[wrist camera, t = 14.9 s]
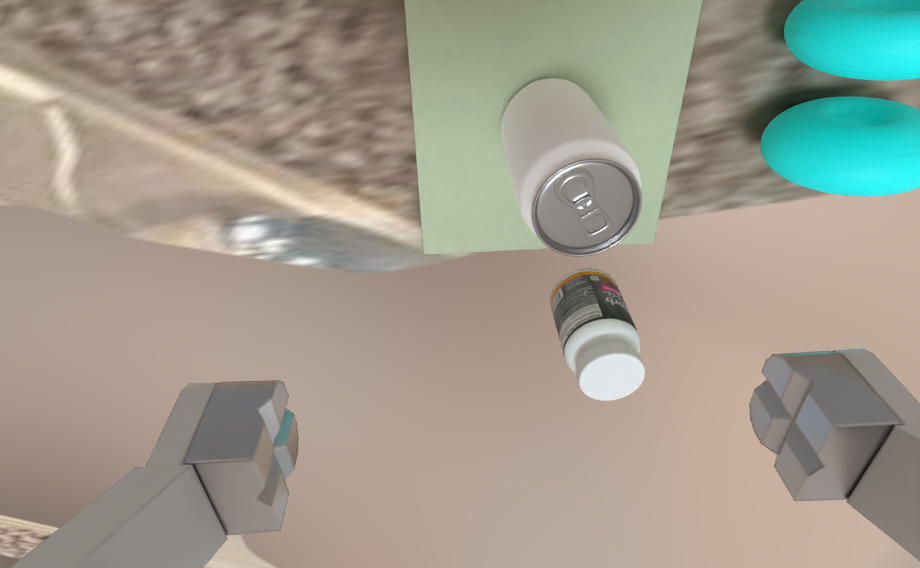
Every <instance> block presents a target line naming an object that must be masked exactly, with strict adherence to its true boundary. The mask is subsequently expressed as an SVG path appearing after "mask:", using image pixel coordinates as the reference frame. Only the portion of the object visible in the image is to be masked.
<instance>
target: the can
mask: <svg viewBox="0 0 920 568" xmlns="http://www.w3.org/2000/svg"><path fill="white" fill-rule="evenodd" d="M501 139H502V144H503V148H504V152H505V156H506V160H507V164H508V167H509V171H510V175H511V179H512V182H513V186H514V190H515V193H516V197H517V200H518V204H519V207H520V210H521V213H522V216H523V218H524V220H525V222H526V224H527V226H528V227H529V229H530V230H531V231H532V232H533V233H534V234H535V235H536V236H537V237H538V238H539V239H540V240H541V241H542V243H543V244H544V245H546V246H547V247H548V248H550V249H551V250H553V251H555V252H557V253H560V254H563V255H567V256H574V257H583V256H591V255H595V254H598V253H601V252H604V251H606V250H608V249H610V248H612V247H613V246H615V245H617V244H618V243H619V242H621V241H622V240H623V239H624V238H625V237H626V236H627V235H628V234H629V233H630V232H631V230H632V229H633V227H634V226H635V224H636V222H637V220H638V218H639V215H640V212H641V208H642V193H641V180H640V175H639V171H638V168H637V166H636V164H635V162H634V160H633V158H632V157H631V155H630V153H629V152H628V150H627V149H626V148H625V146H624V145H623V143H622V142H621V140H620V139H619V137H618V136H617V134H616V133H615V132H614V130H613V129H612V127H611V126H610V124H609V123H608V122H607V120H606V119H605V117H604V116H603V115H602V113H601V112H600V110H599V109H598V108H597V106H596V105H595V103H594V102H593V101H592V99H591V98H590V97H589V95H588V94H587V93H586V92H585V91H584V90H583V89H582V88H581V87H579V86H578V85H576V84H575V83H573V82H570V81H568V80H564V79H558V78H549V79H542V80H538V81H535V82H533V83H531V84H529V85H527V86H526V87H524V88H523V89H522V90H520V91H519V92H518V93H517V94H516V95H515V96H514V97H513V98H512V99H511V101H510V102H509V104H508V105H507V107H506V109H505V111H504V114H503V117H502V121H501Z"/></svg>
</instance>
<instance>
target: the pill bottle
mask: <svg viewBox="0 0 920 568" xmlns="http://www.w3.org/2000/svg"><path fill="white" fill-rule="evenodd" d="M550 302H551V308H552V313H553V316H554V320H555V324H556V327H557V331H558V334H559V338H560V342H561V346H562V350H563V354H564V357H565V360H566V362H567V364H568V366H569V367H570V369H572V371H573V372H575V373H576V377H577V379H578V383H579V386H580V388H581V390H582V391H583V392H584V393H585V394H586V395H588V396H589V397H591V398H593V399H597V400H605V401H607V400H615V399H619V398H623V397H625V396H627V395H629V394H630V393H632V392H634V391H635V390H636V389H637V388H638V387H639V386H640V385H641V383H642V382H643V379H644V376H645V368H644V365H643V362H642V360H641V357H640V355H639V351H640V338H639V335H638V332H637V329H636V327H635V325H634V323H633V321H632V318H631V316H630V313H629V311H628V309H627V307H626V305H625V302H624V300H623V298H622V296H621V293H620V291H619V289H618V286H617V284H616V283H615V281H614V280H613V278H612V277H611V276H609V275H608V274H607V273H605V272H603V271H600V270H596V269H581V270H577V271H574V272H571V273H569V274H567V275H565V276H564V277H563V278H562V279H561V280H560V281H558V282H557V284H556V285H555V287H554V289H553V291H552V294H551V300H550Z"/></svg>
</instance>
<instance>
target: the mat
mask: <svg viewBox="0 0 920 568" xmlns="http://www.w3.org/2000/svg"><path fill="white" fill-rule="evenodd" d="M702 2H703V0H404V6H405V19H406V32H407V45H408V58H409V71H410V84H411V97H412V110H413V123H414V136H415V149H416V162H417V175H418V188H419V201H420V214H421V227H422V240H423V253H424V254H443V253H464V252H485V251H506V250H527V249H547V248H548V247H547V246H546V245H544V244H543V243H542V241H541V240H540V239H539V238H538V237H537V236H536V235H535V234H534V233H533V232H532V231H531V230H530V229H529V227H528V226H527V224H526V222H525V220H524V218H523V216H522V213H521V210H520V207H519V204H518V200H517V197H516V193H515V190H514V186H513V182H512V179H511V175H510V171H509V167H508V164H507V160H506V156H505V152H504V148H503V144H502V139H501V121H502V117H503V114H504V111H505V109H506V107H507V105H508V104H509V102H510V101H511V99H512V98H513V97H514V96H515V95H516V94H517V93H518V92H519V91H520V90H522V89H523V88H524V87H526V86H527V85H529V84H531V83H533V82H535V81H538V80H542V79H549V78H558V79H564V80H568V81H570V82H573V83H575V84H576V85H578V86H579V87H581V88H582V89H583V90H584V91H585V92H586V93H587V94H588V95H589V97H590V98H591V99H592V101H593V102H594V103H595V105H596V106H597V108H598V109H599V110H600V112H601V113H602V115H603V116H604V117H605V119H606V120H607V122H608V123H609V124H610V126H611V127H612V129H613V130H614V132H615V133H616V134H617V136H618V137H619V139H620V140H621V142H622V143H623V145H624V146H625V148H626V149H627V150H628V152H629V153H630V155H631V157H632V158H633V160H634V162H635V164H636V166H637V168H638V171H639V175H640V180H641V193H642V208H641V212H640V215H639V218H638V220H637V222H636V224H635V226H634V227H633V229H632V230H631V232H630V233H629V234H628V235H627V236H626V237H625V238H624V239H623V240H622V241H621V242H619V243H618V244H617V245H629V244H630V245H631V244H651V243H654V238H655V233H656V228H657V223H658V218H659V213H660V209H661V204H662V199H663V194H664V189H665V184H666V179H667V174H668V169H669V164H670V159H671V154H672V149H673V144H674V140H675V135H676V130H677V125H678V120H679V115H680V110H681V105H682V100H683V95H684V90H685V85H686V80H687V76H688V71H689V66H690V61H691V56H692V51H693V46H694V41H695V36H696V31H697V26H698V21H699V16H700V12H701V7H702Z"/></svg>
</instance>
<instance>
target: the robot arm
mask: <svg viewBox="0 0 920 568" xmlns="http://www.w3.org/2000/svg"><path fill="white" fill-rule="evenodd" d="M762 373H763V374H764V376H765V378H766V379H767V380H766V381H765V382H763V383H762V384H761V385H760V386H758V387H757V388H756V389H755V390H754V392H753V395H752V398H751V401H750V420H751V423H752V426H753V429H754V432H755V433H756V435H757V437H758V439H759V441H760V443H761V444H762V445H764V446H765V447H767V448H768V449H770V450H771V451H772V452H774V453H775V454H777V456H776V460H775V464H774V467H775V469H776V470H777V472H778V473H779V475H780V477H781V479H782V480H783V482H784V484H785V486H786V487H787V489H788V491H789V492H790V494H791V496H792V497H793V499H794V501H811V500H812V501H813V500H843V499H848V500H847V503H848V504H850V505H851V506H852V507H853V508H854V509H856V510H857V511H858V512H859V513H861V514H862V515H863V516H864V517H866V518H867V519H868V520H869V521H871V522H872V523H873V524H875V525H876V526H877V527H878V528H879V529H881V530H882V531H883V532H884V533H886V534H887V535H888V536H889V537H890V538H892V539H893V540H894V541H896V542H897V543H898V544H899V545H901V546H902V547H903V548H904V549H905V550H907V551H908V552H909V553H911V554H912V555H913V556H914V557H915V558H917V559H918V560H919V561H920V403H919V402H918V401H917V400H916V399H915V398H914V397H913V396H912V394H911V393H910V392H909V391H908V390H907V389H906V388H905V387H904V386H903V385H902V384H901V382H900V381H899V380H898V379H897V378H896V377H895V376H894V375H893V374H892V373H891V372H890V371H889V370H888V369H887V368H886V366H885V365H884V364H883V363H882V362H881V361H880V360H879V359H878V358H877V357H876V356H875V354H873V353H872V352H870V351H868V350H866V349H849V350H834V351H818V352H801V353H785V354H773V355H772V356H770V357H769V358H768V359H767V360H766V362H765V365H764V367H763V369H762ZM288 397H289V395H288V393H287V390H286V387H285V384H284V382H282V381H280V380H279V381H243V382H241V381H240V382H220V383H190V384H188V385H187V386H186V387H185V388H184V389H183V390H182V391H181V393H180V395H179V397H178V399H177V401H176V403H175V405H174V407H173V409H172V412H171V414H170V416H169V418H168V420H167V422H166V424H165V427H164V429H163V431H162V433H161V435H160V437H159V439H158V441H157V443H156V445H155V448H154V449H153V451H152V454H151V456H150V458H149V460H148V462H147V464H146V466H145V467H136V468H134V469H133V470H132V471H130V472H129V473H128V474H127V475H125V476H124V477H123V478H122V479H121V480H119V481H118V482H117V483H115V484H114V485H113V486H112V487H111V488H109V489H108V490H107V491H106V492H104V493H103V494H102V495H100V496H99V497H98V498H97V499H96V500H94V501H93V502H92V503H91V504H89V505H88V506H87V507H86V508H84V509H83V510H82V511H81V512H79V513H78V514H77V515H76V516H74V517H73V518H72V519H71V520H69V521H68V522H67V523H66V524H64V525H63V526H62V527H61V528H59V529H58V530H57V531H56V532H54V533H53V534H52V535H51V536H49V537H48V538H47V539H46V540H44V541H43V542H42V543H41V544H39V545H38V546H37V547H36V548H34V549H33V550H32V551H31V552H29V553H28V554H27V555H26V556H24V557H23V558H22V559H21V560H19V561H18V562H17V563H16V564H14V565H13V566H12V567H11V568H204V566H205V565H206V564H207V563H208V561H209V560H210V559H211V558H212V557H213V555H214V554H215V553H216V552H217V551H218V549H219V548H220V547H221V546H222V544H223V543H224V542H225V541H226V540H227V536H226V535H236V534H248V533H260V532H271V531H281V527H282V522H283V518H284V514H285V509H286V505H287V501H288V496H289V491H288V488H287V485H286V483H285V479H286V478H287V477H288V476H289V475H290V474H291V473H292V472H293V471H294V469H295V464H296V459H297V454H298V430H297V423H296V420H295V416H294V414H293V413H292V412H290V411H289V410H287V409H286V405H287V401H288Z"/></svg>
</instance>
